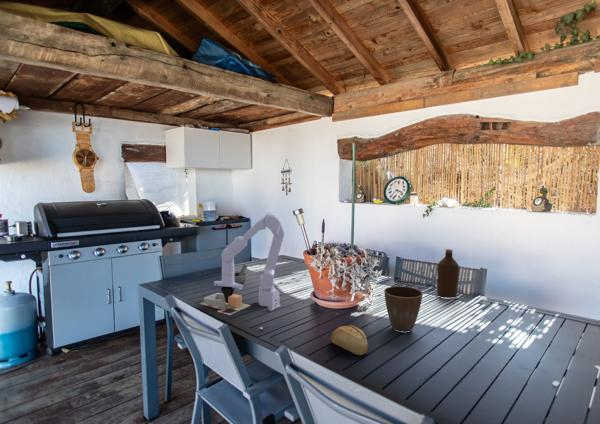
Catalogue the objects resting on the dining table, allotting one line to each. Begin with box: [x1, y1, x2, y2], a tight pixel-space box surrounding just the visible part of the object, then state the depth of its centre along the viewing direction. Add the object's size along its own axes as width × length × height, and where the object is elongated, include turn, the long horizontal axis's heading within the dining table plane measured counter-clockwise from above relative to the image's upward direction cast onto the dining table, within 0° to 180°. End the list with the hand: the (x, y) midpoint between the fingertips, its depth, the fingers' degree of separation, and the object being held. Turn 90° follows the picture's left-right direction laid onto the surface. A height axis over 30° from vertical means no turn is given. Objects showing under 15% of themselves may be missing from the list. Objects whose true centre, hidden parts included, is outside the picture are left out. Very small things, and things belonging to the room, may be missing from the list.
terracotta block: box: [228, 293, 243, 308], centre depth 172 cm, size 4×4×4 cm
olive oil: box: [436, 248, 460, 298], centre depth 193 cm, size 11×11×25 cm
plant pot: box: [383, 285, 424, 332], centre depth 150 cm, size 15×15×16 cm
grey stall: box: [203, 292, 226, 308], centre depth 176 cm, size 13×10×2 cm
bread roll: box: [330, 324, 369, 356], centre depth 134 cm, size 10×15×8 cm, turn 46°
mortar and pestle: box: [234, 263, 249, 288], centre depth 207 cm, size 11×9×12 cm
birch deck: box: [199, 299, 252, 316], centre depth 173 cm, size 22×14×2 cm
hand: (228, 302), depth 174 cm, fingers closed
